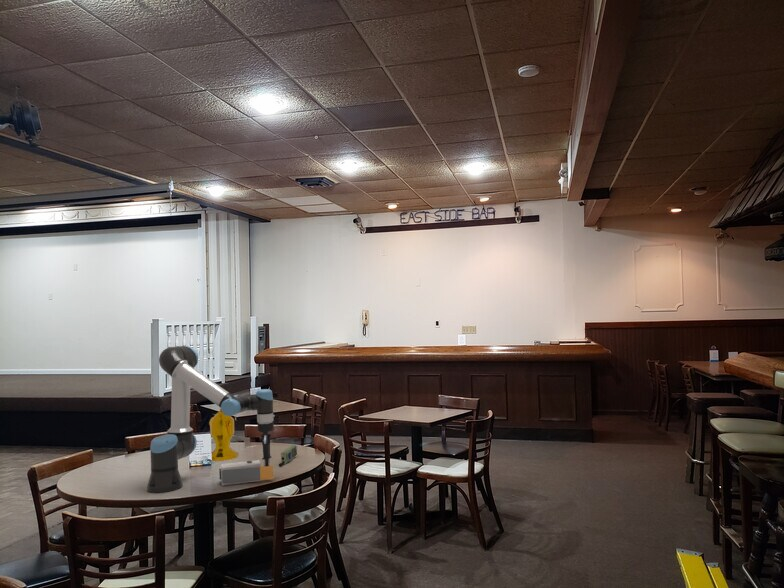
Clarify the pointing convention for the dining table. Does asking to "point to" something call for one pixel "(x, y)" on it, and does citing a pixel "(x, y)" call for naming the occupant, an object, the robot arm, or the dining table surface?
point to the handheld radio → (288, 454)
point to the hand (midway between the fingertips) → (267, 472)
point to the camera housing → (238, 466)
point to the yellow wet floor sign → (222, 436)
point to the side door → (247, 474)
